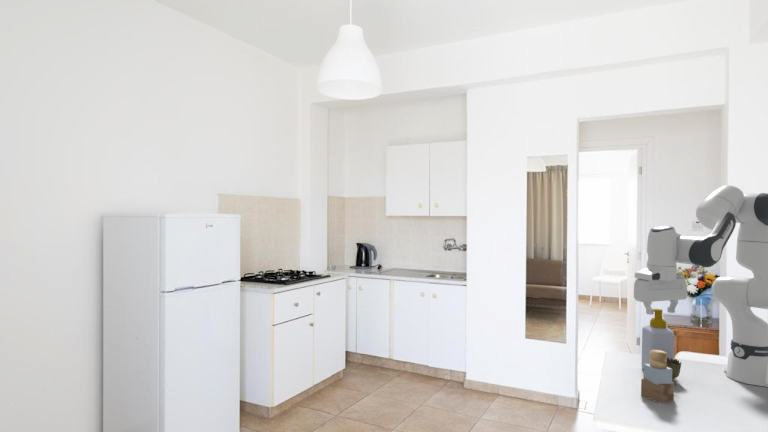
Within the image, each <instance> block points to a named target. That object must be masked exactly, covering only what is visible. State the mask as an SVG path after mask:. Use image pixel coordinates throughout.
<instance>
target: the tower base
mask: <svg viewBox="0 0 768 432" xmlns="http://www.w3.org/2000/svg"><path fill="white" fill-rule="evenodd" d="M640 383H641V384H640V386H641V387H640V396H641V397H642V398H643V397H644V398H646V399H648V400H652V401H654V402H657V404H658V403H659V404H663V403H666V402H667V403H668V402H670V401H674V399H675V381H674V382H672V384H659V385H656V384H654V383H652V382H650V381H648V380H646V379H644V377H643V378H641V382H640Z"/></svg>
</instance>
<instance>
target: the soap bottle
mask: <svg viewBox="0 0 768 432" xmlns="http://www.w3.org/2000/svg"><path fill="white" fill-rule="evenodd" d="M653 309H654V317H652V318H651V319H650V320H649V325H645V326H642V328H641V369H642V370H644V364H650V350H660V351H664V352H666V353H667V358H669V359H670V360H671V358H672V359H673V360H674V359H675V332H674V331H673V330H672V329H670V328H668V327H667V321H666V320H665V319H663V309H661V308H653Z"/></svg>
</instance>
